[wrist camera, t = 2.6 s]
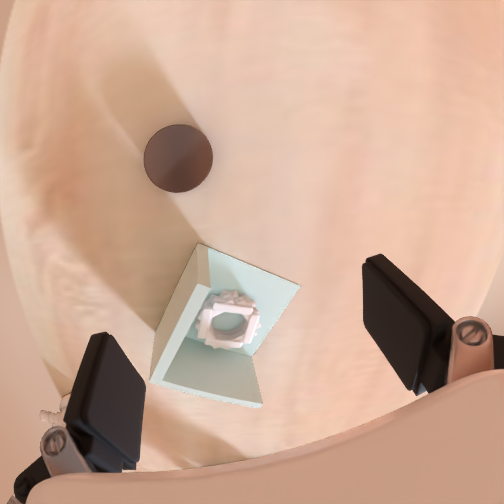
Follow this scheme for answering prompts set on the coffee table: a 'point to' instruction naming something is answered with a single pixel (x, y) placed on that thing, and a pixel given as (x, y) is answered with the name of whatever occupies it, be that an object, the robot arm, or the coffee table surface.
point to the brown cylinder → (178, 158)
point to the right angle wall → (217, 327)
